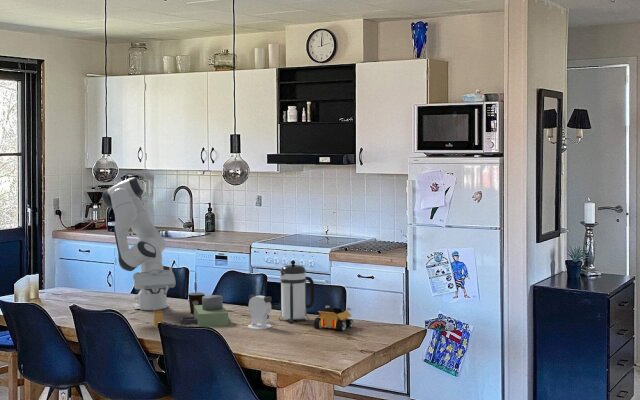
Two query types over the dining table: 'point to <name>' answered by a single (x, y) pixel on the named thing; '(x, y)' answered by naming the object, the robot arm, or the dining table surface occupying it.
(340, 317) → the yellow toy truck
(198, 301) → the coffee mug
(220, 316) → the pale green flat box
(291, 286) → the coffee press
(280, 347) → the dining table surface
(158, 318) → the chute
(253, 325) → the panda figurine
